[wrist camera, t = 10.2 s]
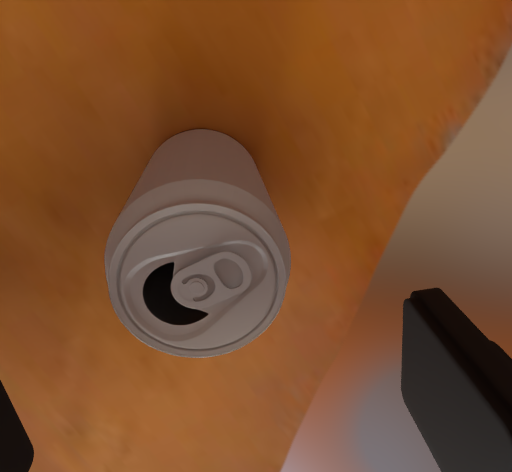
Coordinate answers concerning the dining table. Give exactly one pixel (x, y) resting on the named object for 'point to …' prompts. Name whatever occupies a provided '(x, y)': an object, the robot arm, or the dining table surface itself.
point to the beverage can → (198, 249)
